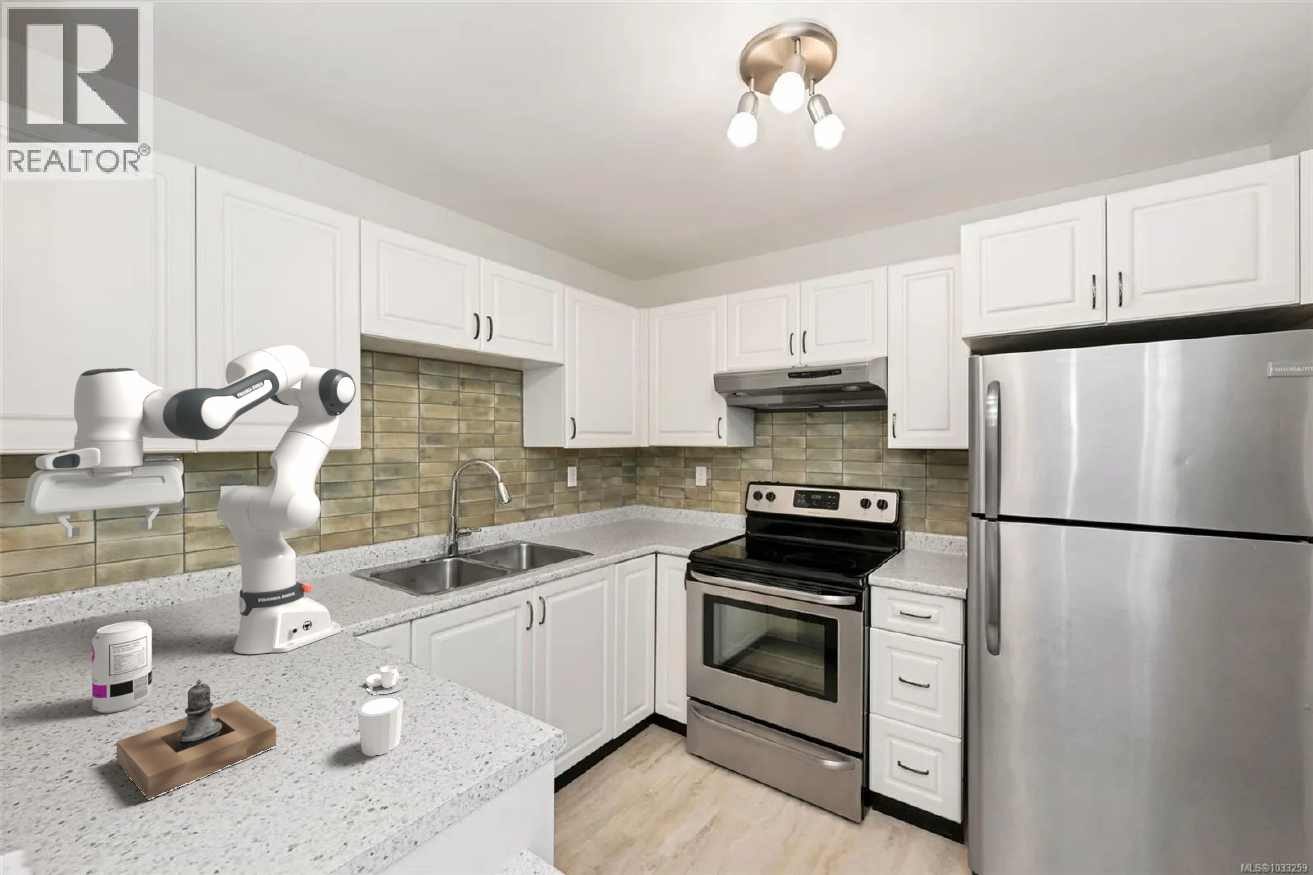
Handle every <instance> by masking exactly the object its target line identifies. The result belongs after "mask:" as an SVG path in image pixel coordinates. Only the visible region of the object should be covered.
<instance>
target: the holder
mask: <svg viewBox="0 0 1313 875" xmlns="http://www.w3.org/2000/svg"><path fill="white" fill-rule="evenodd" d="M211 719H212V721H215V722H220V723H221V724H222V728H221V729H220V733H219V735H218V737H217V738H215V739H212V740H209V741H207V742H204V743H201V744H199V745H196V746H193V747H191V748H188V749H185V750H183V749H181V748H180V746H179V744H178V741H177V740H176V739H175V737H176V735H177V734H178V733H179V732H180V731H182V730H184V729H185V728H186V725H187V717H184V718H181V719H178V720H176V721H173V722H170V723H166V724H163V725H161V726H158V727H156V728H155V727H154V728H151V729H149V730H145V731H143V732H140V733H137V734H134V735H131V736H128V737H125V738H123V739H120V740H116V764H117V763H118V764H117V765H118V766H119V765H120V766H121V768H122V769H123V770H124V771H125V772H126V774H127V775H128V776H129V777H130V778H131V779H132V781H133V782H134V783H135V784H136V785H137V787H139V788H140V790H141V791H142V792H143V793H144V794H145V796H146V797H147V798H148V799H150V798H152V797H156V796H157V795H159V794H161V793H163V792H167V791H170V790H171V789H174V788H175V787H179V786H181V785H183V784H185V783H189V782H191V781H193V780H196V779H197V778H201V777H204V776H206V775H208V774H211V773H213V772H215V771H217V770H219V769H222V768H224V767H226V766H228V765H232V764H234V763H236V762H238V761H240V760H244V759H247V758H248V757H250V756H252V755H255V754H257V753H259V752H261V751H265V750H267V749H269V748H271V747H273V746H276V747H277V726H275V725H274V724H273V723H271V722H269V721H268V720H266V719H265V718H264V717H263V716H261V715H259V714H257V713H256V712H255V711H253V710H252V709H250V708H249V707H248V706H246V705H245V704H244V703H242V702H241V701H238V700H235V701H232V702H228V703H226V704H222V705H220V706H217V707H212V708H211ZM120 766H119V767H120ZM121 768H120V769H121ZM122 769H121V770H122ZM123 770H122V771H123ZM124 771H123V772H124ZM126 774H125V775H126ZM127 775H126V776H127ZM128 776H127V777H128ZM129 777H128V778H129ZM132 781H131V782H132ZM133 782H132V783H133ZM134 783H133V784H134ZM137 787H136V788H137Z"/></svg>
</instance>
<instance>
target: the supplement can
mask: <svg viewBox="0 0 1313 875" xmlns="http://www.w3.org/2000/svg"><path fill="white" fill-rule="evenodd" d="M152 630H153V629H152V627H151V626H150V625H149V623H148V621H147V620H143V619H141V620H128V621H120V622H115V623H113V624H108V625H105V626H102V627H100V628H98V629H97V630H96V633H95V635H94V636H93V637H92V639H91V669H92V670H91V682H92V683H91V684H92V685H91V687H92V688H91V691H92V692H91V697H92V698H91V702H92V705H91V707H92V710H94V711H97V712H98V713H101V714H109V713H110V714H111V713H117V712H122V711H126V710H130V709H133V708H135V707H138V706H140V705H141V704H144V703H145V702H147V701H148V698H150V697H151V696H152V694H153V654H152V653H153V648H152V647H153V643H152V642H153V640H152V639H153V631H152Z"/></svg>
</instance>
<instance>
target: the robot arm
mask: <svg viewBox="0 0 1313 875" xmlns="http://www.w3.org/2000/svg"><path fill="white" fill-rule="evenodd" d="M310 365H311V364H310V360H309V357H308V356H307V354H306V353H305V352H304V351H303V350H302V349H301V348H299V347H298V346H295V345H292V344H285V343H284V344H276V345H270V346H265V347H260V348H257V349H254V350H250V351H248V352H246V353H243V354H241V355H239V356H237V357H234V358H233V359H232V360H230V361H229V362H228V363H227V366H226V368H225V380H226V383H227V384H226V385H224V386H221V387H219V388H211V387H198V388H195V387H194V388H185V389H184V388H183V389H182V388H177V389H174V388H171V389H168V388H167V389H165V388H164V387H162V386H158V385H156V384H154V383H152V382H150V381H149V380H147V379H146V378H144V377H142V375H140V373H139V372H138V371H137V369H134V368H128V367H114V368H95V369H90V370H89V369H88V370H86V371H84V372H82V373H81V374H80V375H79V377H78V378H77V380H76V384H75V389H74V398H73V399H74V400H73V416H74V420H75V421H76V425H77V431H76V434H75V436H74V439H73V442H74V443H73V444H74V445H73V448H71V449H63V450H59V451H57V452H53V453H49V454H44V455H41V456H38V457H36V459H35V467H36V468H37V469H39V470H37V471H35V472H33V473H32V474H31V476H30V477H29V478H28V481H27V484H26V488H25V494H24V510H25V511H27V512H28V513H29V514H32V515H49V514H50V515H51V514H55V519H56V520H57V521H58V523H60V524H61V525H62V527H63V528H65V529H64V530H65V533H64V534H65V535H64V536H65V539H76V538H80V537H81V534H80V531H81V530H80V528H81V527H80V526H72V525H71V523H70V522H68V520H67V519H70V518H71V513H73V512H86V511H95V510H96V511H98V510H111V509H122V508H132V507H133V508H135V507H145V508H146V511H148V513H147V515H146V516H145V517H144V519H140V520H138V530H139V531H148V530H149V531H150V530H152V528H153V526H152V525H153V524H152V522H153V520H154V518H156V516H157V515H158V513H159V511H160V505H161V506H162V505H168V504H169V505H172V504H179V503H180V502H182V500H183V499H184V494H185V493H184V486H183V481H182V476H183V474H184V463H183V461H182V459H180V458H178V457H175V456H174V455H163V456H161V455H144V437H145V438H149V439H174V440H175V439H177V440H178V439H181V440H182V439H185V440H192V441H193V440H194V441H209V440H214V439H215V438H218V437H219V436H221V435H222V434H223V433H225V431H226V430H228V428H229V427H230V426H231V425H232V424H233V422H235V420H237V419H238V418H239V417H240V416H242V415H244V414H245V413H247V412H248V411H251V410H252V409H254V408H256V407H257V406H259V405H261V404H263V403H264V402H266V401H268V400H269V399H271V400H272V401H273V402H275V403H277V404H280V405H283V406H293V407H298V408H297V415H296V416H295V418H294V419H293V421H292V422H291V424H290V425H289V426H288V428H287V429H286V431H285V432H284V434H283V435H282V437H281V439H280V441H279V442H278V444H277V446H276V447H275V449H274V450H273V452H272V454H271V455H270V458H269V463H270V466H271V467H272V469H273V470H274V475H273V479H272V481H271V483H270V484H269V485H247V486H246V485H245V486H241V487H236V488H232V489H230V490H228V491H226V492H225V493H224V494H223V495H222V496H221V497H220V498H219V500H218V503H217V506H216V514H217V516H218V518H219V520H220V522H222V523H223V524H224V525H225V526H226V527H227V528H228V530H229V531H230V532H231V534H232V536H233V540H234V543H236V546H237V549H238V550H237V551H238V553H239V557H240V558H239V559H240V565H241V566H240V569H241V589H240V590H239V597H238V608H239V614H240V618H239V626H238V627H239V628H238V632H237V637H236V640H235V643H234V647H233V651H234V652H235V653H237V654H242V655H243V654H244V655H258V654H260V655H261V654H267V653H268V654H269V653H286V652H290V651H292V650H295V649H297V648H300V647H303V646H307V645H308V644H311V643H315V642H317V641H320V640H322V639H325V638H328V637H330V636H333V635H334V636H335V635H336V634H339V633H341V631H342V628H341V624H339V623H338V622H336V621H333V620H331V614H330V611H329V609H328V608H327V607H326V605H324V604H322V603H320V602H318V601H316V600H314V599H312V598H310V597H308V596H306V595H305V593H306V594H307V593H310V592H312V590H313V585H312V584H310V583H302V582H300V581H299V582H298V581H297V554H296V551H295V550H294V549H293V547H292V546H290V545H289V544H288V543H287V541H286V539H285V538H284V536H283V533H292V532H297V531H303V530H307V529H309V528H310V527H313V525H315V523H316V522H317V521H318V519H319V517H320V514H321V509H322V508H321V502H320V499H319V497H318V496H317V494H316V490H315V489H316V488H315V485H316V479H317V477H318V475H319V471H320V469H321V467H322V466H323V463H324V461H325V460H326V458H327V456H328V454H329V452H330V449H331V448H332V446H333V445H334V441H335V439H336V436H337V434H338V431H339V427H340V417H339V416H340V415H342V414H343V413H345V412H346V410H347V408H348V407H349V406H351V403H352V402H353V401H354V398H355V396H356V390H357V389H356V388H357V387H356V383H355V381H354V378H353V377H352V375H351V374H349V373H348V372H346V371H343V370H341V369H337V368H326V367H322V366H314V365H311V366H310Z"/></svg>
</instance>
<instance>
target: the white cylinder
mask: <svg viewBox="0 0 1313 875" xmlns="http://www.w3.org/2000/svg"><path fill="white" fill-rule="evenodd" d="M403 707H404V700H403V699H402V697H399V696H396V695H384V696H379V697H375V698H372V699H370V700H367V701H365V702H364V703H362V704H360V705H359V706H358V709H357V717H358V730H359V737H360V738H359V739H360V747H361V752H362V751H363V753H364V754H367V755H380V754H383V753H385V752H387V751H390V750H392V749H393V748H395V747H396V746H397V745H398V744H399V745H400V740H401V739H400V738H401V730H402V720H403V709H404V708H403ZM399 745H398V746H399ZM363 753H362V754H363ZM364 754H363V755H364Z"/></svg>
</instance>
